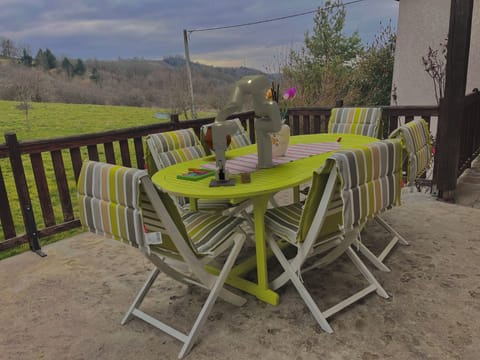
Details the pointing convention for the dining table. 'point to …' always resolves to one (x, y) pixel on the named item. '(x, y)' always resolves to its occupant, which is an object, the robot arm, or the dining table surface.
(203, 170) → the jigsaw puzzle tray
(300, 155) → the dining table surface
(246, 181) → the walnut cube
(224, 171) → the cream brick
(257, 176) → the dining table surface
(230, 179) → the base plate
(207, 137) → the goblet
